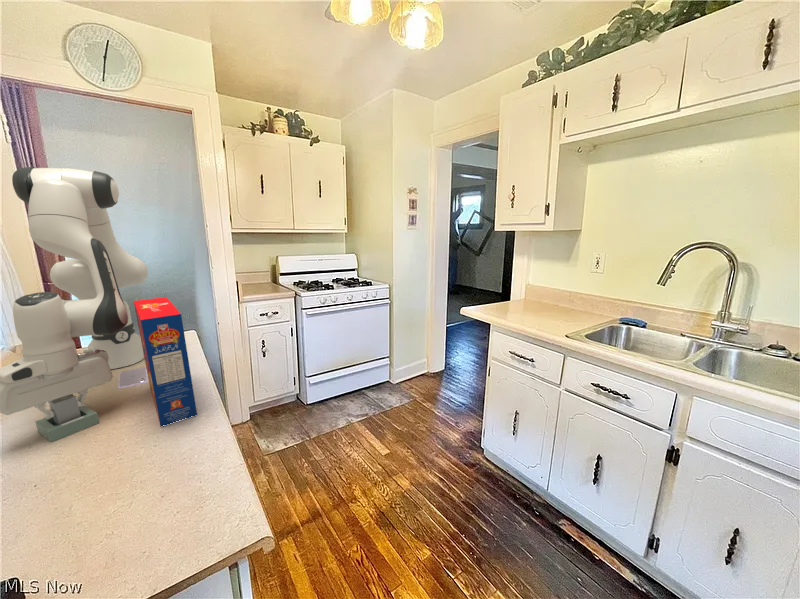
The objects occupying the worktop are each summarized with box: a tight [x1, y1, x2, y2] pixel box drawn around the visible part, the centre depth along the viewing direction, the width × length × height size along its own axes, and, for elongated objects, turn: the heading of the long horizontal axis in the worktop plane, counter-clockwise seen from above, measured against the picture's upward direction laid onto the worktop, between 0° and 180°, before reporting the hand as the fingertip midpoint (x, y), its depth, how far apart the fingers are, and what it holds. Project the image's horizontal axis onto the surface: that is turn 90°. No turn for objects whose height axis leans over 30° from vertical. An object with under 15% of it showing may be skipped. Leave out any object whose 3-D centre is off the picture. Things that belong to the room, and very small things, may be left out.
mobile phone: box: [117, 366, 149, 389], centre depth 112 cm, size 8×1×15 cm
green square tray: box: [35, 405, 100, 443], centre depth 84 cm, size 9×9×3 cm
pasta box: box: [133, 296, 198, 427], centre depth 94 cm, size 28×8×28 cm, turn 41°
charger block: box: [48, 393, 81, 425], centre depth 83 cm, size 4×4×6 cm
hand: (65, 412), depth 84 cm, fingers closed on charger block, 4 cm apart
